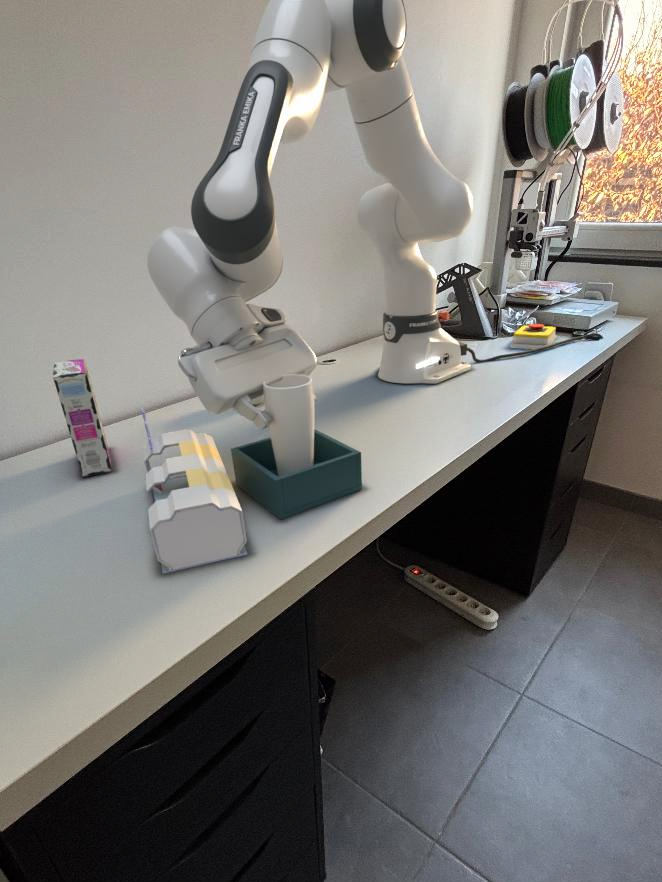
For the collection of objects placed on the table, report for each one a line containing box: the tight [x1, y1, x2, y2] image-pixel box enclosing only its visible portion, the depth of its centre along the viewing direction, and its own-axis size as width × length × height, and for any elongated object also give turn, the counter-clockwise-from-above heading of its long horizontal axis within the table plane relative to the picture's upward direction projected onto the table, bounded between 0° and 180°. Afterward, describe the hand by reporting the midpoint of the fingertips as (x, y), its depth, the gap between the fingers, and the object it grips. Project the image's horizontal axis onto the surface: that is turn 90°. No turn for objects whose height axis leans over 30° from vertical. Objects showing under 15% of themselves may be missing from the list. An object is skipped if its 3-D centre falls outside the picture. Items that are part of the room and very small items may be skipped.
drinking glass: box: [263, 374, 316, 477], centre depth 74 cm, size 7×7×15 cm
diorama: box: [140, 407, 248, 575], centre depth 69 cm, size 25×10×13 cm, turn 18°
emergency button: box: [509, 323, 557, 351], centre depth 144 cm, size 9×4×15 cm
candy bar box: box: [52, 358, 113, 478], centre depth 86 cm, size 11×5×16 cm, turn 23°
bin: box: [230, 428, 363, 521], centre depth 77 cm, size 14×14×6 cm
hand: (290, 414), depth 73 cm, fingers open, 8 cm apart
